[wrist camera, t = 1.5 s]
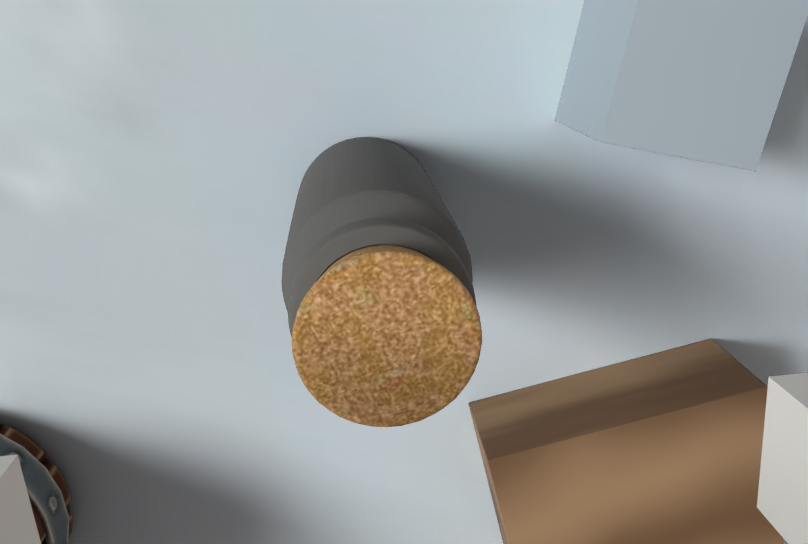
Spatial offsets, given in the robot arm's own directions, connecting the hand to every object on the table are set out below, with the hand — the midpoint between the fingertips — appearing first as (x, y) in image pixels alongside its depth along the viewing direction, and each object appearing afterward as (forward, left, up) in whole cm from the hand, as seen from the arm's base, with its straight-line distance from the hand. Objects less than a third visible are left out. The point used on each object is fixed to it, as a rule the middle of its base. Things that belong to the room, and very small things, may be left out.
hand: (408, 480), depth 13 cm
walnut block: (+15, +11, -21) cm, 28 cm away
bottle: (0, 0, -21) cm, 21 cm away
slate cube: (-5, +12, -21) cm, 24 cm away
